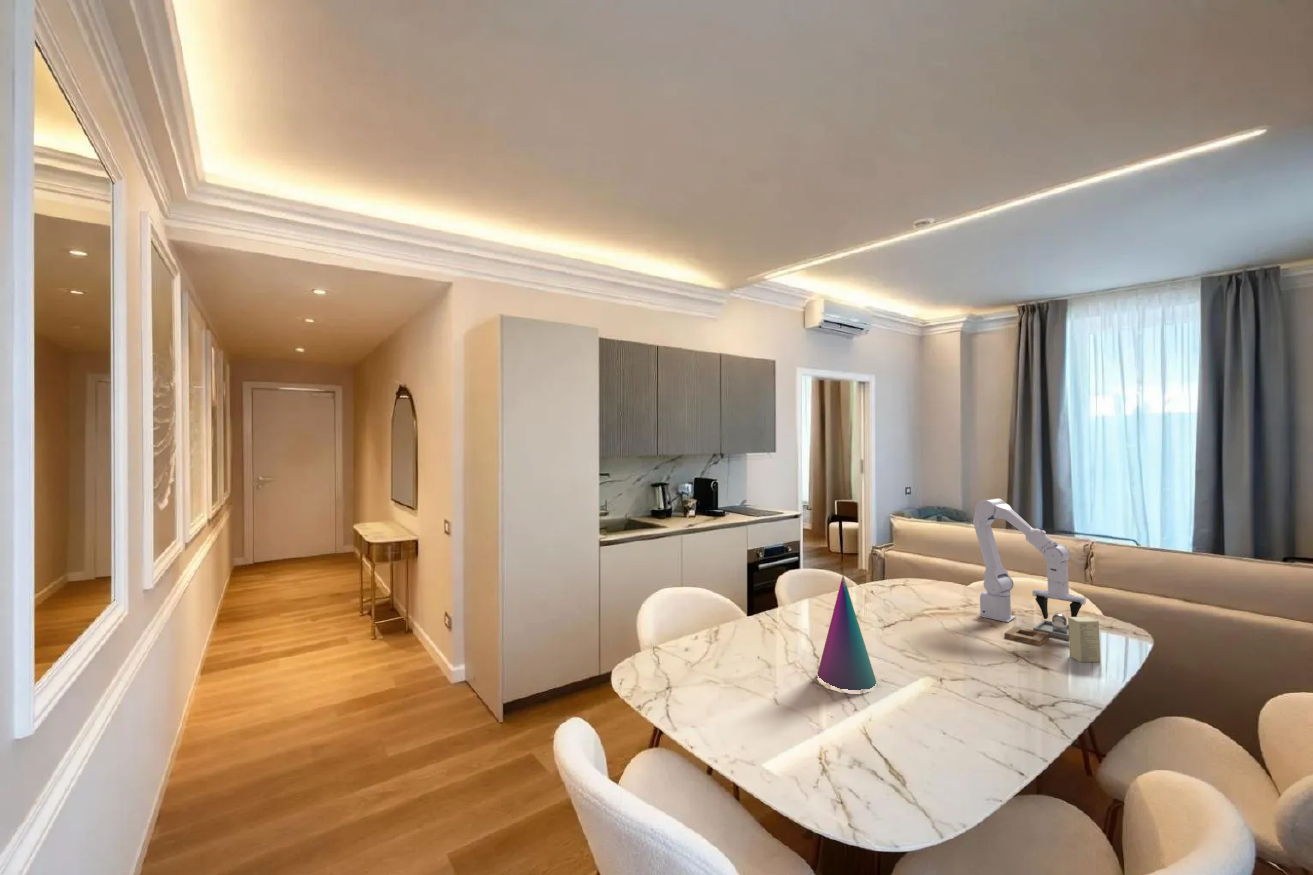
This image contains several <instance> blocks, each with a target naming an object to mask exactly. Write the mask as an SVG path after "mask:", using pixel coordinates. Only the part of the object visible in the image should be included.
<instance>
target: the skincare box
mask: <svg viewBox="0 0 1313 875" xmlns="http://www.w3.org/2000/svg"><path fill="white" fill-rule="evenodd" d="M1099 624H1100V622H1099V620H1096V619H1095V618H1092V617H1090V616H1077V617H1071V616H1068V617H1067V625H1068V628H1069V640H1068V644H1069V645H1068V646H1069V647H1068V648H1069V657H1070V658H1072V659H1074V660H1076V661H1077V662H1079V663H1080V662H1082V663H1084V662H1086V663H1089V662H1090V663H1092V662H1093V663H1094V662H1095V663H1097V662H1101V646H1100V645H1101V642H1100V640H1101V639H1100V625H1099Z"/></svg>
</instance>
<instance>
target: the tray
mask: <svg viewBox="0 0 1313 875" xmlns="http://www.w3.org/2000/svg"><path fill="white" fill-rule="evenodd" d="M1032 630H1036V631H1040V632H1045V633H1049V637H1051V638H1057V639H1060V640H1066V641H1069V628H1068V624H1067V634H1063V633H1058V632H1053V627H1052V620H1047V619H1044V620H1042V621H1041V622H1039V623H1038V624H1037V625H1035V626H1034V627H1033V628H1032Z"/></svg>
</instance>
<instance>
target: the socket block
mask: <svg viewBox="0 0 1313 875" xmlns="http://www.w3.org/2000/svg"><path fill="white" fill-rule="evenodd" d="M1003 634H1004V638H1005V637H1006V638H1005V639H1009V638H1010V639H1009V640H1014V641H1018V642H1023V643H1026V642H1027V644H1031V645H1035V646H1036V645H1037V646H1042V645H1043V644H1045V642H1047V641H1048V640H1049V639H1050V636H1049V633H1045V632H1040V631H1036V630H1033V629H1030V628H1025V627H1021V626H1016V625H1014V626H1012V627H1011V628H1009V629H1008V630H1007V631H1005V632H1004V633H1003Z"/></svg>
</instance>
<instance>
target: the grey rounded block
mask: <svg viewBox="0 0 1313 875" xmlns="http://www.w3.org/2000/svg"><path fill="white" fill-rule="evenodd" d="M1051 621H1052V627H1053V632H1058V633H1063V634H1067V625H1068V618H1066V617H1065V615H1063V614H1061V613H1056V614H1053V616H1052V619H1051Z"/></svg>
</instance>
